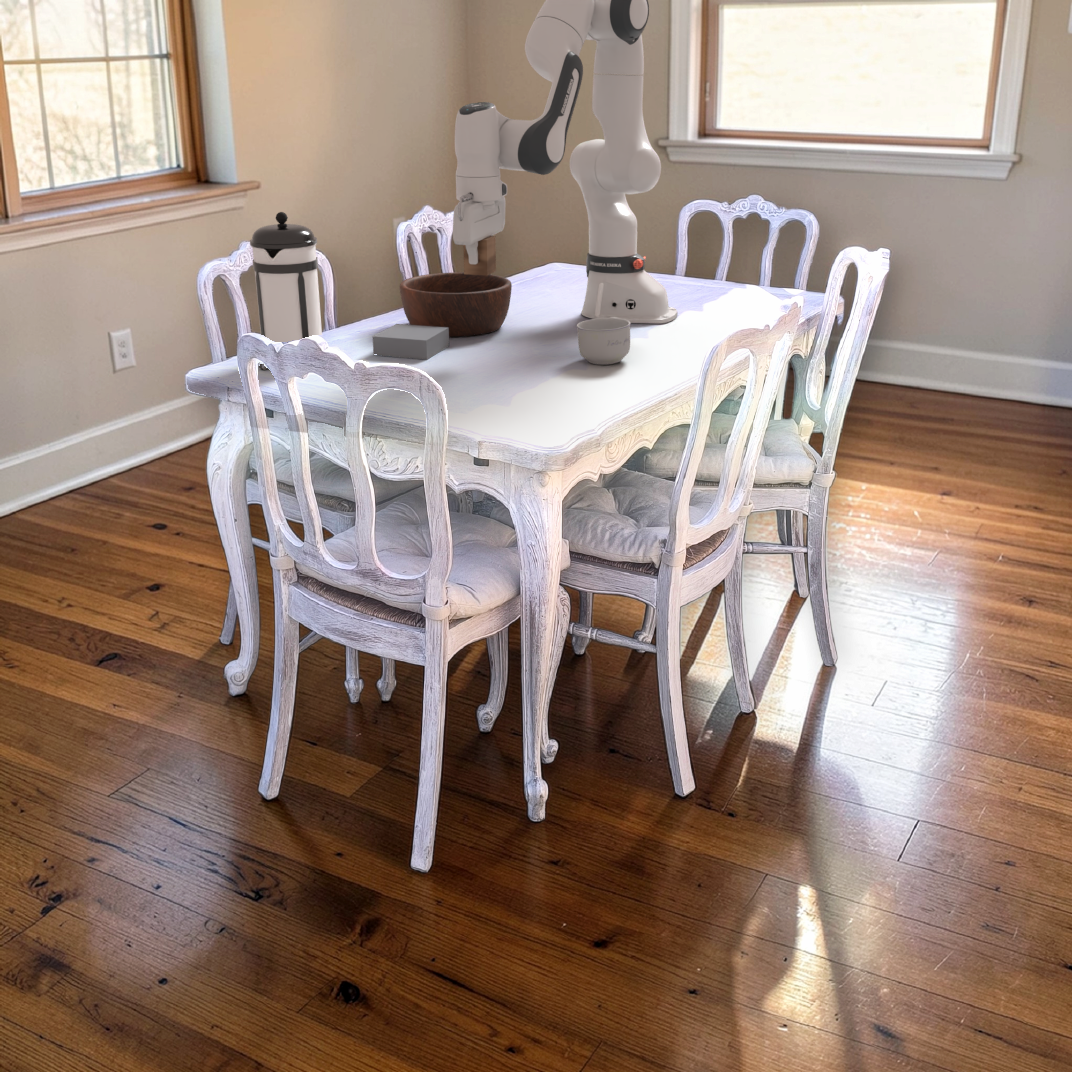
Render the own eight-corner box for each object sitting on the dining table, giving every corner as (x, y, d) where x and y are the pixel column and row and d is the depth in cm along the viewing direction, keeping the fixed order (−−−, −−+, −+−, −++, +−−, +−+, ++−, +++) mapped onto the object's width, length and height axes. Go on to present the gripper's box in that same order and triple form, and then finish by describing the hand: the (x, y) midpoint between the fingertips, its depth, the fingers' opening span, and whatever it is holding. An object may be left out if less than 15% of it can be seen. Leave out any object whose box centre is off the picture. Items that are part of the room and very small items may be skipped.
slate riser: (449, 346, 258) (448, 327, 257) (427, 359, 248) (426, 340, 246) (397, 342, 262) (396, 323, 260) (373, 355, 251) (372, 336, 250)
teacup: (613, 370, 239) (614, 330, 236) (566, 363, 244) (566, 324, 241) (646, 355, 250) (647, 317, 247) (600, 349, 255) (600, 311, 252)
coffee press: (348, 365, 243) (338, 212, 232) (272, 377, 235) (258, 219, 224) (313, 348, 257) (302, 202, 245) (241, 359, 249) (226, 209, 237)
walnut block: (496, 271, 247) (495, 236, 244) (487, 275, 243) (486, 239, 240) (473, 269, 248) (472, 235, 246) (464, 274, 244) (463, 238, 241)
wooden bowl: (532, 323, 279) (532, 278, 275) (472, 346, 259) (471, 297, 255) (443, 311, 290) (441, 268, 286) (379, 332, 271) (376, 286, 267)
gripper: (474, 197, 229) (476, 271, 235) (510, 184, 247) (511, 253, 253) (443, 196, 231) (446, 269, 236) (481, 183, 249) (483, 252, 254)
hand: (480, 261), depth 245 cm, fingers closed on walnut block, 5 cm apart
